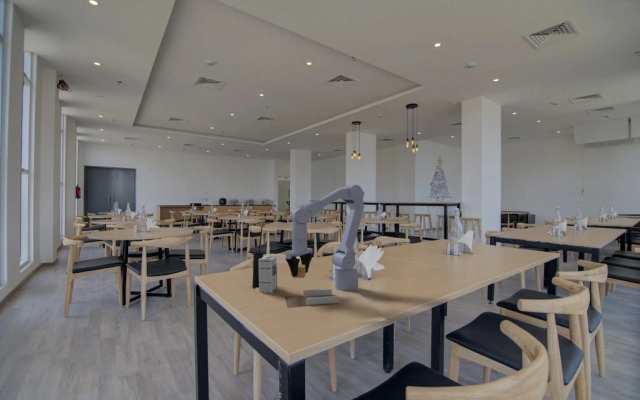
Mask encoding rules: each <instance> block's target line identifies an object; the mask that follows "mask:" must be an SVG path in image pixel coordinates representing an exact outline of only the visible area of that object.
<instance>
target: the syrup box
mask: <svg viewBox="0 0 640 400" xmlns="http://www.w3.org/2000/svg"><path fill="white" fill-rule="evenodd" d="M277 263H278V261H277V256H272V255H267V256H266V255H265V256H264V255H263V258H261V259H259V288H258V292H259V293H265V294H267V293H269V294H274V292H276V291H277V290H278V272H277V271H278V270H277V269H278V268H277V267H278V266H277Z"/></svg>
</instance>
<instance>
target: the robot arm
mask: <svg viewBox="0 0 640 400" xmlns="http://www.w3.org/2000/svg"><path fill="white" fill-rule="evenodd" d="M364 196H365V192H364V190H363V188H362V187H361V186H360V185H359V184H353V185H343V186H341V187H339V188H337V189H335V190H333V191H332V192H330V193H328V194H327V195H325V196H323V197H322V198H320V199H319V198H311V199H309V202H307V203H306V204H301V205H300V206H299V207H300V208H294V209H293V210H291V213H290V215H289V219H290V221H291V223H292V227H291V234H292V235H291V236H292V237H291V240H292V241H291V242H292V243H291V246H292V247H291V249H292V250H290V251H288V252H286V253H285V261H286V262H287V264H288V267H289V270H290V274H291V277H293V276H295V277H296V276H297V274H298V265H300V263H301V265H306V274H308V272H309V269H310V268H309V267H310V264H311V261H312V259H313V257H314V254H313V247H308V226H307V225H308V224H307V223H308V222H309V221H310V219H312V218H313V217H315V216H316V215H319V214H320V213H322V212H323V211H324V208H325V207H327V206H328V205H330V204H333V203H334V202H336V201H338V200H340V199H341V200H342V201H343V202H345V203H346V204H347V206H348V207H349V209H350V210H349V213H348V215H347V216H348V217H347V219H346V224H345V228H344V231H343V234H342V235H343V236H342V238H341V242H340V244H339V245H337V247H336V249H335V251H334V253H333V254H332V256H331V263H332V264H333V265H334V289H335V290H336V291H337V290H338V291H344V292H345V291H351V290H355V291H356V292H357V293H358V292H360V290H359V273H358V269H357V268H355V264H356V251H355V248H354V247H355V242H356V240H357V239H356V238H357V235H358V232H359V227H360V223H361V220H362V217H363V214H364V213H363V212H364V208H365V204H364V203H365V202H364ZM297 257H299V258H297ZM300 261H301V262H300Z"/></svg>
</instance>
